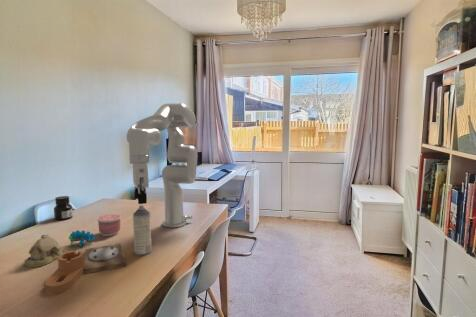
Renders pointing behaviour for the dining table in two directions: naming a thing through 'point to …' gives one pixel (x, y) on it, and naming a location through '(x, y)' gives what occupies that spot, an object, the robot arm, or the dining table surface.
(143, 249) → the aerosol can
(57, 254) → the ceramic model
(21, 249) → the dining table surface
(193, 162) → the robot arm
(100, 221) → the container
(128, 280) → the dining table surface
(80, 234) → the gear
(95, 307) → the dining table surface
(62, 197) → the ink bottle
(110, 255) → the flange board
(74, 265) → the bracket
